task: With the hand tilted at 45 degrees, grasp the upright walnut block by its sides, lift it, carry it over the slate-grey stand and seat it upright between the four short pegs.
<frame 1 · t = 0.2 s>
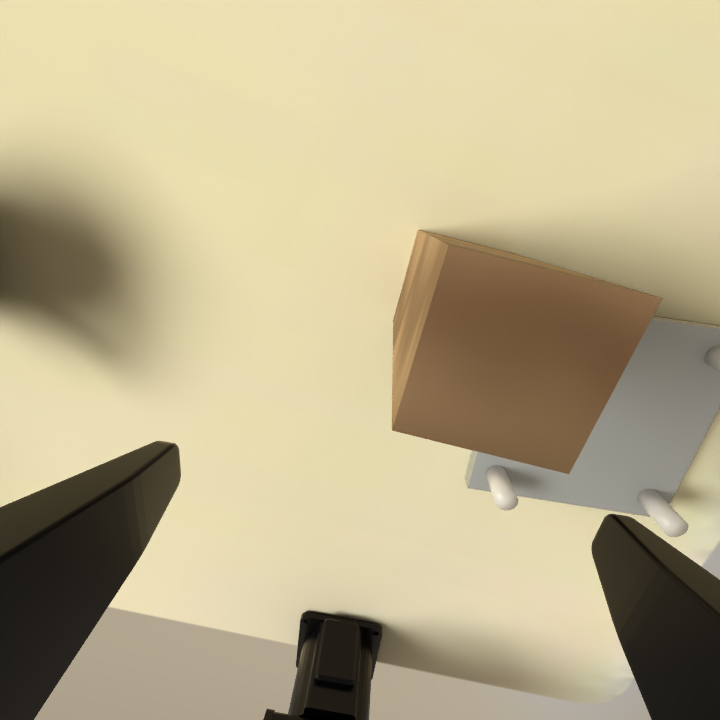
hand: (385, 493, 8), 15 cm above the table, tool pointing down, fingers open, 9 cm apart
walnut block: (449, 288, 21), on the table
peg stand: (588, 411, 22), on the table
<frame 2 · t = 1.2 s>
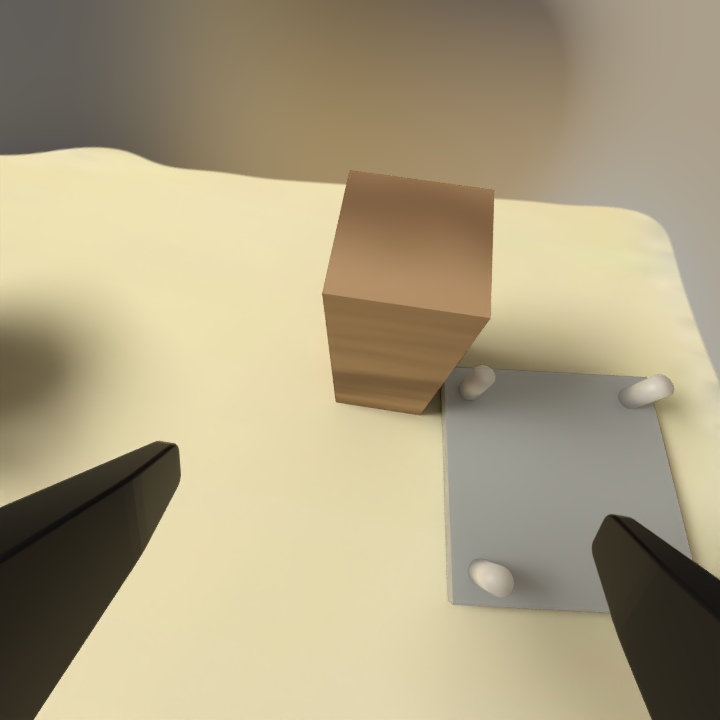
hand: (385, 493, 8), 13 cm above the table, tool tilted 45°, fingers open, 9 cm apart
walnut block: (383, 369, 23), on the table
peg stand: (551, 479, 21), on the table
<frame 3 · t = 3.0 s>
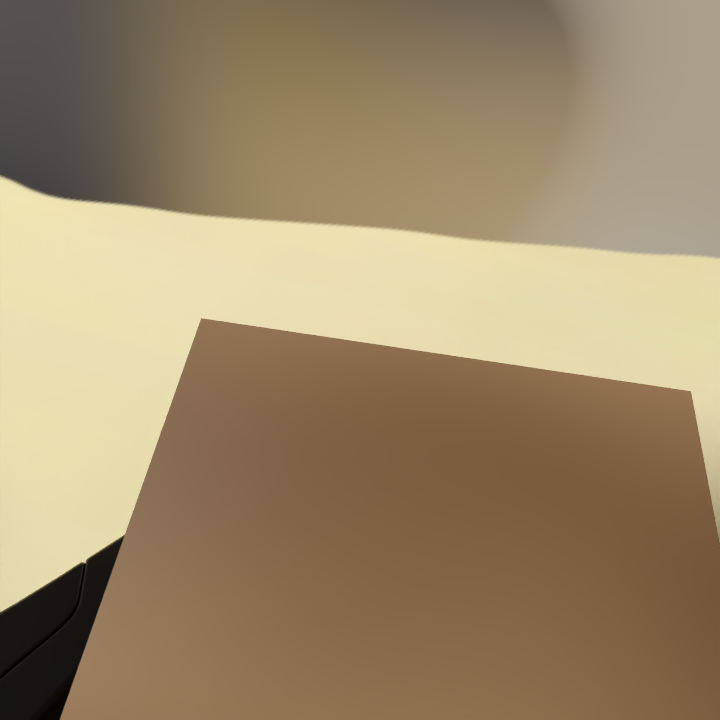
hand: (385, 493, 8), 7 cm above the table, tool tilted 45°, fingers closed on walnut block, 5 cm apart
walnut block: (363, 542, 14), on the table, touching gripper
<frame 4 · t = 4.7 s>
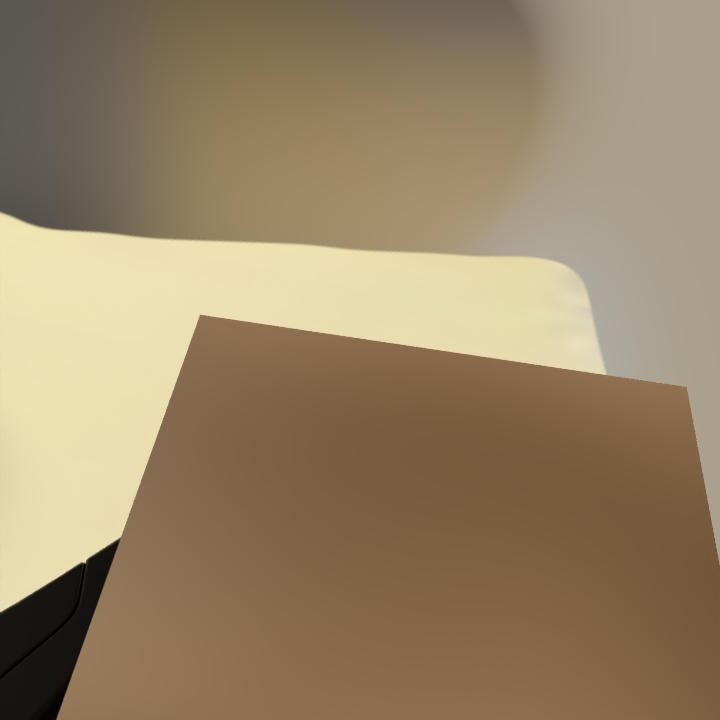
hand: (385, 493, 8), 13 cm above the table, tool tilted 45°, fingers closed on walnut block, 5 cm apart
walnut block: (363, 541, 14), point 6 cm above the table, touching gripper
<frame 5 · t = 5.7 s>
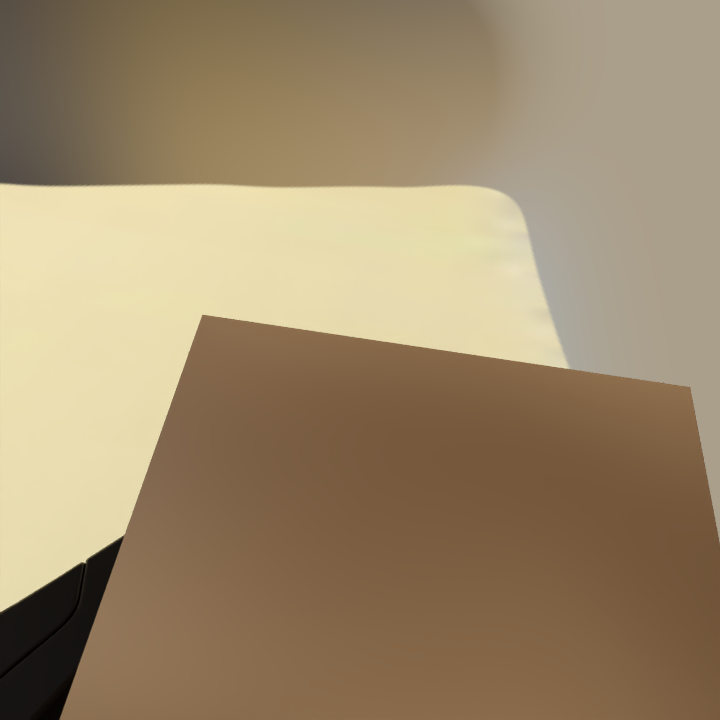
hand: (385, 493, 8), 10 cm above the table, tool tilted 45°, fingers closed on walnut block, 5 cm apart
walnut block: (363, 541, 14), point 3 cm above the table, touching gripper
when the fingers open (9 cm above the table, at t = 6.3 s): walnut block stays where it is, resting on peg stand.
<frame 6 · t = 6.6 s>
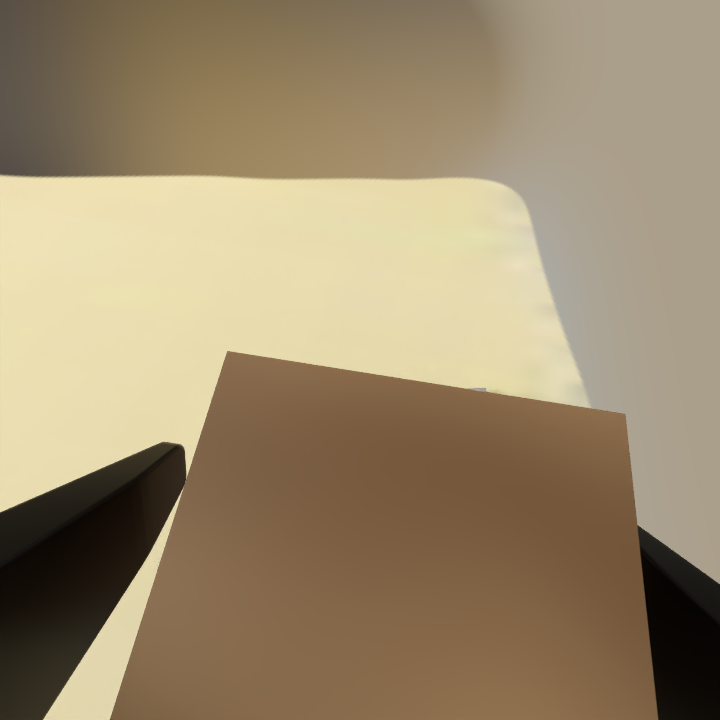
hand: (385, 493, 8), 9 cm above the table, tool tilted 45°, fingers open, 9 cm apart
walnut block: (362, 540, 15), point 1 cm above the table, touching peg stand
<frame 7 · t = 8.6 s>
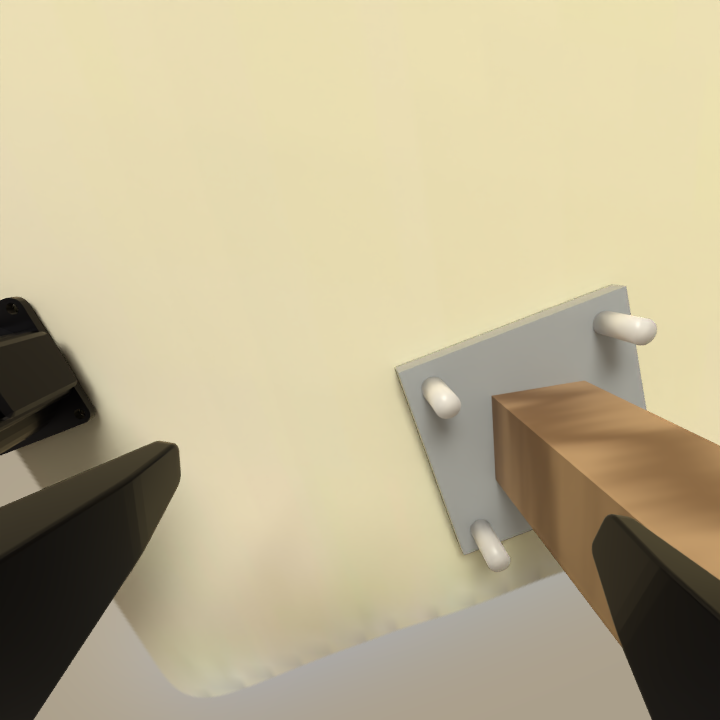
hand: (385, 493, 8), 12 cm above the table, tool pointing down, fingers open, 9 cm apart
walnut block: (538, 431, 20), point 1 cm above the table, touching peg stand
peg stand: (528, 424, 21), on the table
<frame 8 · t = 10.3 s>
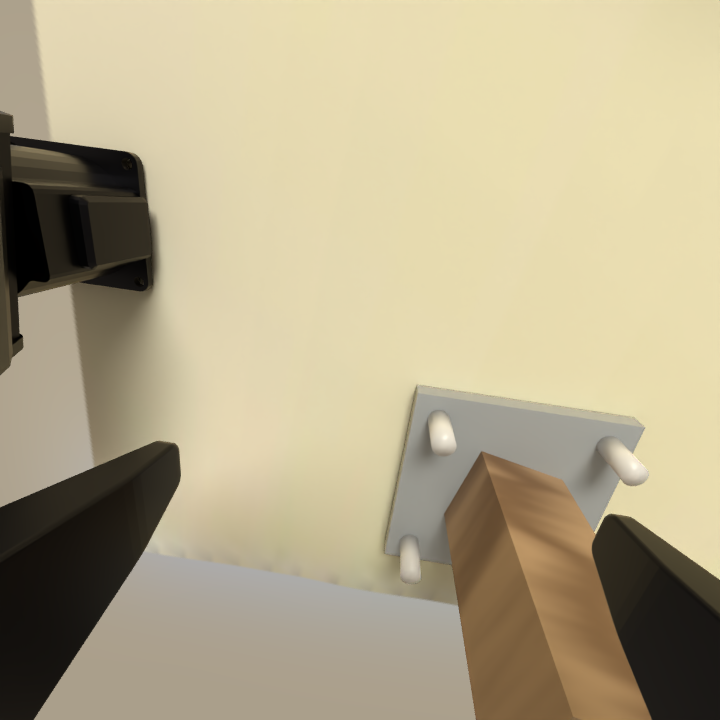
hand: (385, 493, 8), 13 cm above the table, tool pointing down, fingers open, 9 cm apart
walnut block: (501, 497, 22), point 1 cm above the table, touching peg stand
peg stand: (496, 486, 23), on the table
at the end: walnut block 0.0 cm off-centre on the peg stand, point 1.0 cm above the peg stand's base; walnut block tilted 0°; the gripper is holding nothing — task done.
